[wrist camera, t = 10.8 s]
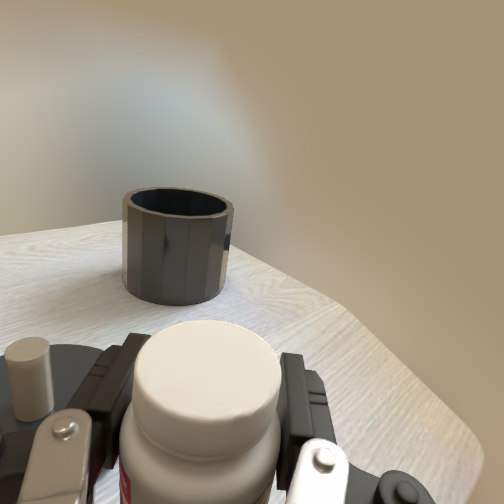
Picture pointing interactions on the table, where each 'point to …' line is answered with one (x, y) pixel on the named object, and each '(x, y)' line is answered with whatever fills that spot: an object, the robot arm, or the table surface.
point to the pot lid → (40, 380)
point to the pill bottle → (201, 418)
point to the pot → (175, 244)
